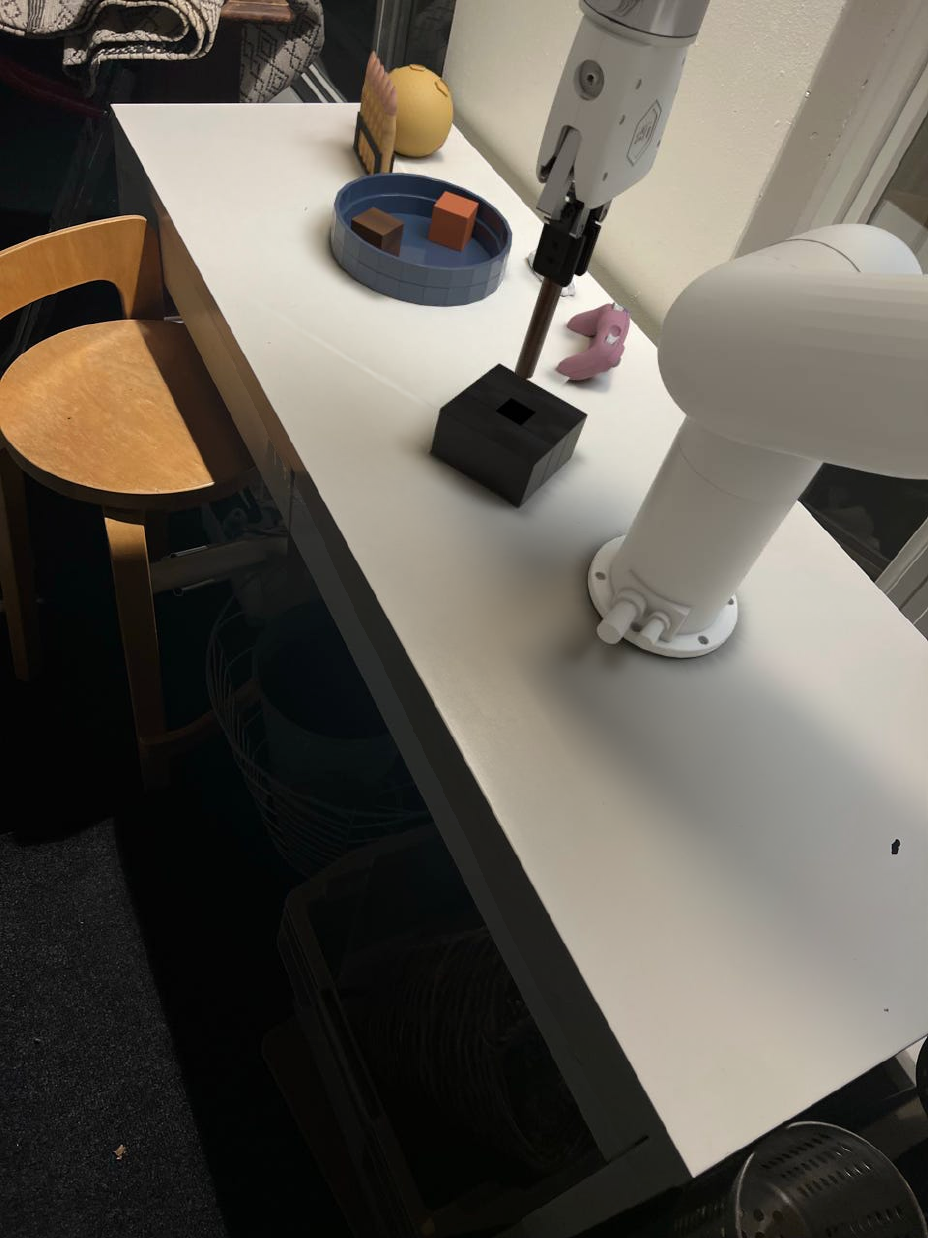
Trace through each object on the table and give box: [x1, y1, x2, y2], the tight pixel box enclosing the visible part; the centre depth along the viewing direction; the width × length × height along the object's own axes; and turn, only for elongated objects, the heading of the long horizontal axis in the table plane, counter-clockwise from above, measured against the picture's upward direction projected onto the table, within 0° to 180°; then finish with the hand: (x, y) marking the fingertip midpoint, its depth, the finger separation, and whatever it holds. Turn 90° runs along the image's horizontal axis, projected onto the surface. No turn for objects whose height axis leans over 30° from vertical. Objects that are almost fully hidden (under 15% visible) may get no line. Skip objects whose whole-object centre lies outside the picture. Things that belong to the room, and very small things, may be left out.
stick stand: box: [429, 362, 589, 509], centre depth 80 cm, size 10×10×5 cm
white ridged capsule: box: [527, 247, 579, 297], centre depth 101 cm, size 3×8×3 cm, turn 29°
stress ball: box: [387, 63, 454, 158], centre depth 111 cm, size 10×10×10 cm
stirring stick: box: [514, 197, 578, 380], centre depth 69 cm, size 2×2×15 cm
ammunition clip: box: [352, 50, 397, 176], centre depth 105 cm, size 11×2×12 cm, turn 19°
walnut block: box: [350, 207, 404, 257], centre depth 95 cm, size 4×4×4 cm
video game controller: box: [556, 301, 631, 381], centre depth 92 cm, size 10×5×7 cm, turn 168°
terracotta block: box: [428, 191, 479, 252], centre depth 101 cm, size 4×4×4 cm
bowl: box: [330, 172, 513, 307], centre depth 97 cm, size 19×19×5 cm
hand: (558, 271), depth 68 cm, fingers closed on stirring stick, 1 cm apart
